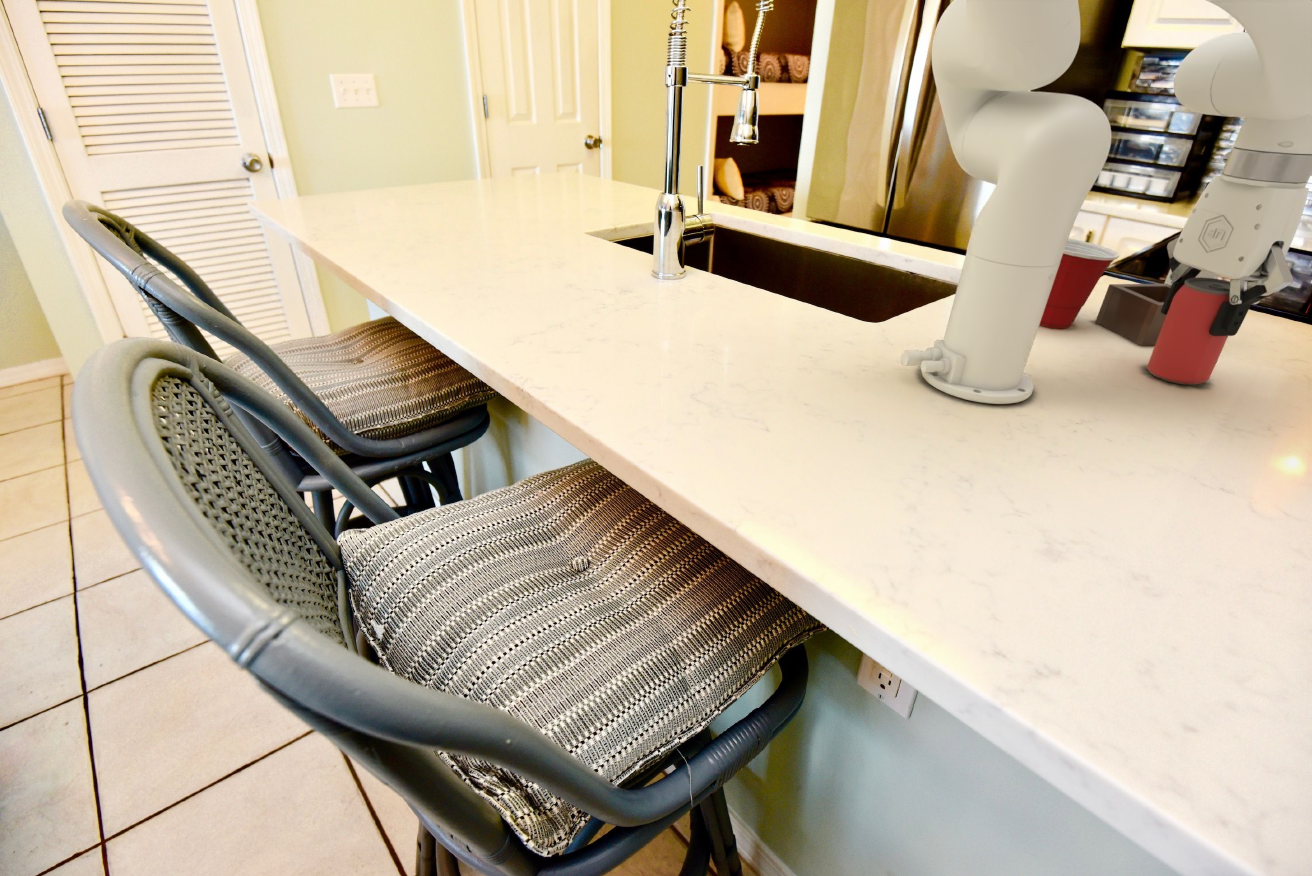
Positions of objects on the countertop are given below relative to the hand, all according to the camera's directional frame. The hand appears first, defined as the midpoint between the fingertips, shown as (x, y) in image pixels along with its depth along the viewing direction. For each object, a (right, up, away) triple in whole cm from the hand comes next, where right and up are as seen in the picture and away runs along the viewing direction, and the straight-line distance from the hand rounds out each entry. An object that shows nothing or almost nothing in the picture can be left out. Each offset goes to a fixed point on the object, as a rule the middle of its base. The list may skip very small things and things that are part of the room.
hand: (1196, 322), depth 82 cm
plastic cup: (-6, +3, +21) cm, 22 cm away
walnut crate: (+7, +2, +18) cm, 19 cm away
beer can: (0, -6, +4) cm, 7 cm away
